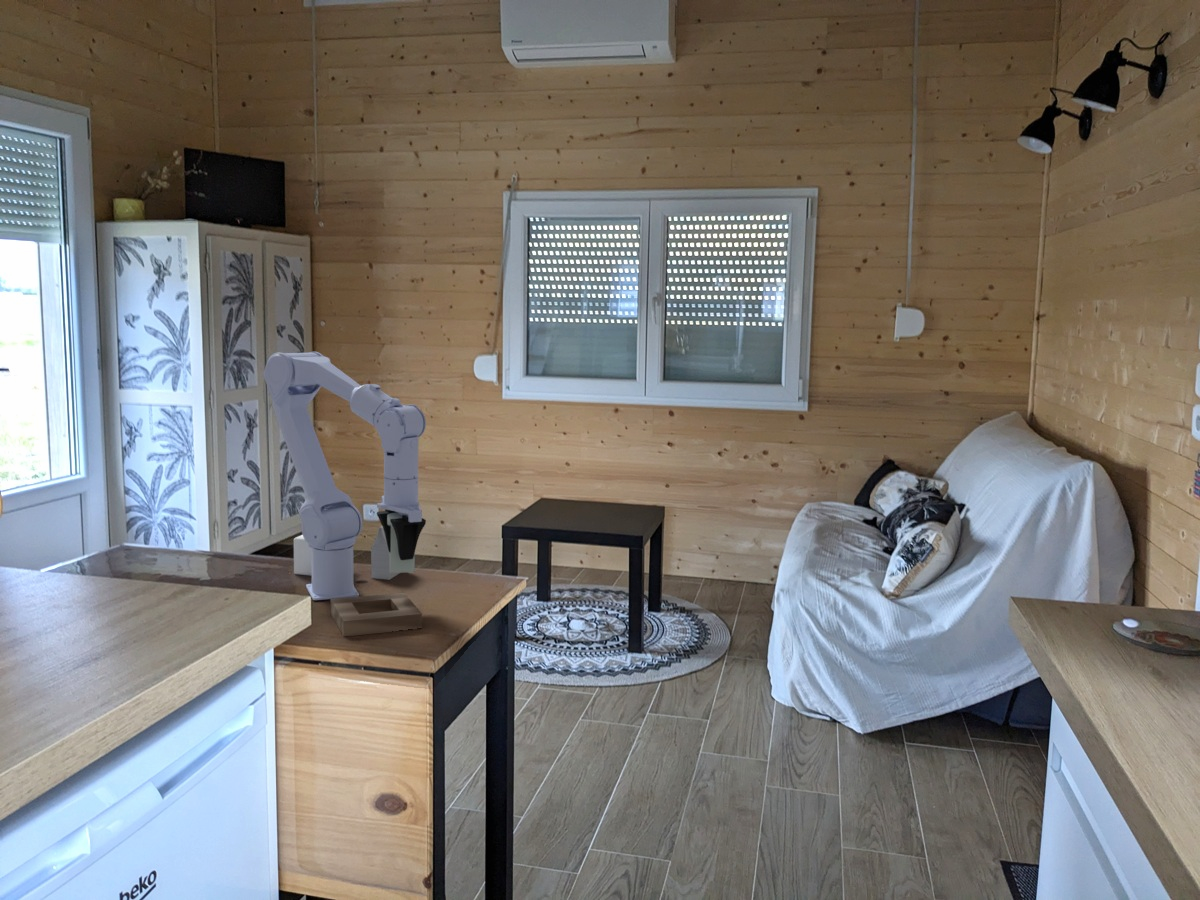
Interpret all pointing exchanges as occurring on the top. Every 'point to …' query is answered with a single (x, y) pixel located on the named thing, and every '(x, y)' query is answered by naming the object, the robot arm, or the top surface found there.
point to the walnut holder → (375, 614)
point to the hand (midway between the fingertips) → (400, 555)
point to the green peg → (396, 563)
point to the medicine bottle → (302, 556)
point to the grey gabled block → (381, 558)
